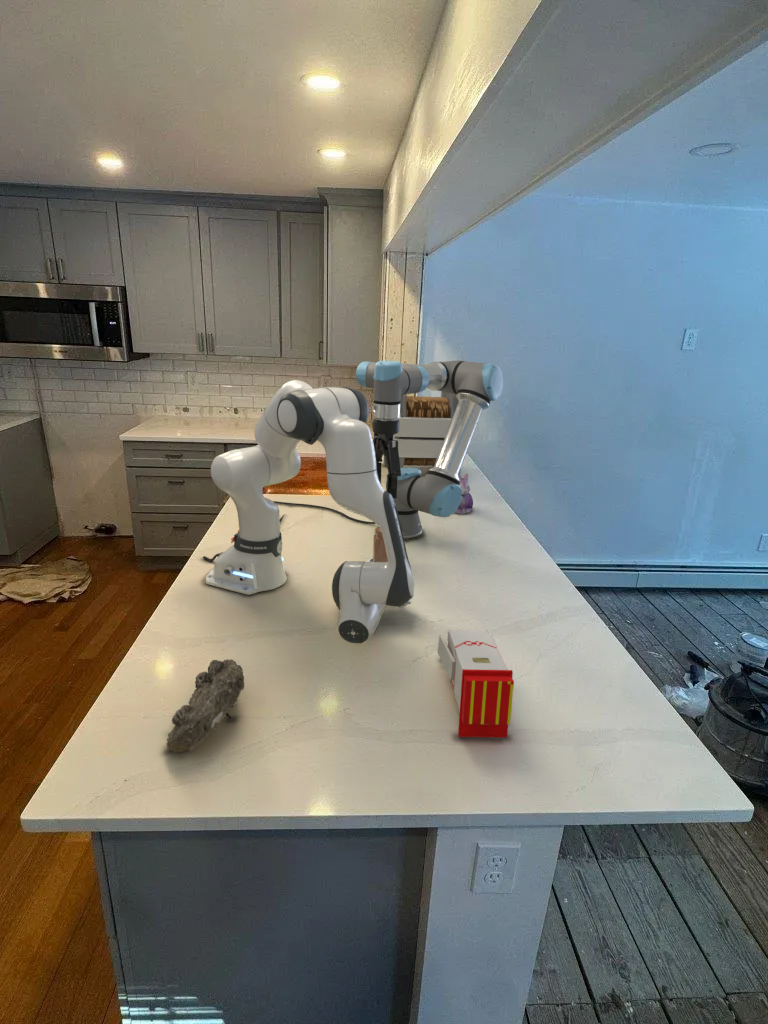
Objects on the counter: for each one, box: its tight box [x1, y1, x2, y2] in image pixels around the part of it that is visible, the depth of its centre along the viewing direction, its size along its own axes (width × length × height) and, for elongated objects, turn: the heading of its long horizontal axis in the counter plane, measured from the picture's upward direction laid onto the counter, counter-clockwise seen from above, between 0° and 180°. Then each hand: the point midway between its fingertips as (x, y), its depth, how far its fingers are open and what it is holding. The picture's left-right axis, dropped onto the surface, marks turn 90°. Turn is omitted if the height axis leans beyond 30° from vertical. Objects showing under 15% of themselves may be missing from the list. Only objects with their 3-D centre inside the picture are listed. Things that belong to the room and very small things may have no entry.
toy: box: [437, 628, 515, 738], centre depth 117 cm, size 12×13×30 cm
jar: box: [372, 526, 388, 562], centre depth 153 cm, size 5×5×20 cm
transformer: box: [383, 391, 462, 475], centre depth 268 cm, size 34×33×41 cm
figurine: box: [454, 473, 474, 515], centre depth 223 cm, size 9×10×15 cm
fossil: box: [166, 658, 245, 754], centre depth 106 cm, size 22×10×15 cm
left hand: (380, 576), depth 153 cm, fingers open, 8 cm apart
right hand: (383, 491), depth 165 cm, fingers open, 13 cm apart
